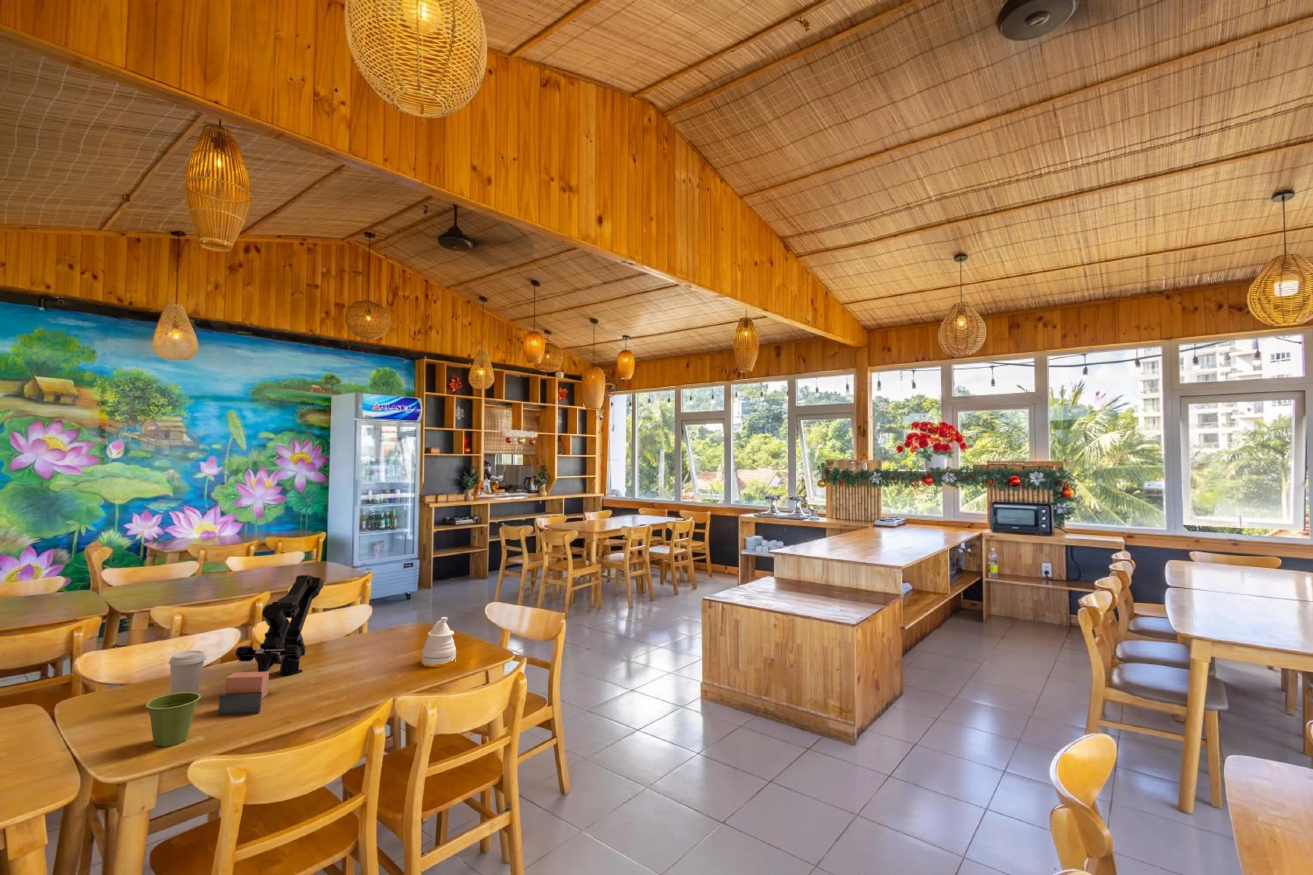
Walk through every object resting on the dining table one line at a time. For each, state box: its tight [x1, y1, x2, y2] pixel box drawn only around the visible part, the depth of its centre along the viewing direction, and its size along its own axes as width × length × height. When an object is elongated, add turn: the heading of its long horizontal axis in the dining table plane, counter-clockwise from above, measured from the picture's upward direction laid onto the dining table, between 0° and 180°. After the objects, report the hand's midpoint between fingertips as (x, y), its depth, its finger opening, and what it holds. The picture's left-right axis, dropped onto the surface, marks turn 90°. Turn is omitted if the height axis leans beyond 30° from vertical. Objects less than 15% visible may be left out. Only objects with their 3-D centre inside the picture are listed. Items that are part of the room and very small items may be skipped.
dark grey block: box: [217, 692, 263, 716], centre depth 190 cm, size 14×11×6 cm
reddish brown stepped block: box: [224, 671, 270, 705], centre depth 188 cm, size 5×10×10 cm, turn 102°
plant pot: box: [145, 692, 201, 748], centre depth 164 cm, size 12×12×11 cm
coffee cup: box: [168, 650, 207, 694], centre depth 192 cm, size 10×10×15 cm
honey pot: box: [421, 616, 457, 665], centre depth 240 cm, size 13×13×18 cm
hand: (260, 677), depth 197 cm, fingers closed
